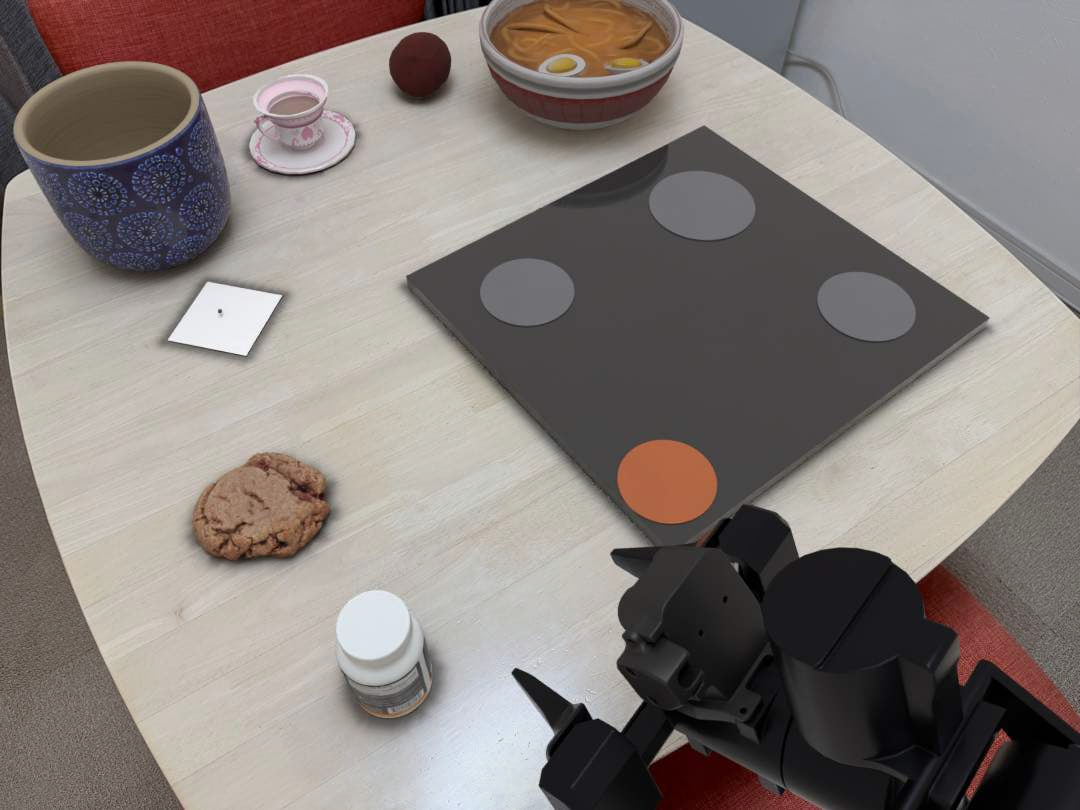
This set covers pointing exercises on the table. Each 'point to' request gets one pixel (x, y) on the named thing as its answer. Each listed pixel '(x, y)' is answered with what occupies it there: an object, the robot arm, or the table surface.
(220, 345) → the coaster
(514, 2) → the bowl
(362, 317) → the table surface
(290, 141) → the teacup
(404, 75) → the potato
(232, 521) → the cookie
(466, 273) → the hob
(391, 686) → the pill bottle
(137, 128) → the planter
